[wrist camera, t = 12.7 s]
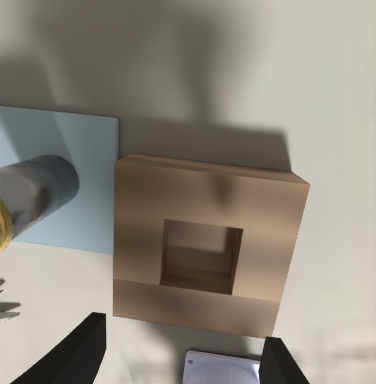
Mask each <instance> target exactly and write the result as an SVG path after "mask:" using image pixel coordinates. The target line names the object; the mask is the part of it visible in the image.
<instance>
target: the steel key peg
mask: <svg viewBox="0 0 376 384" xmlns="http://www.w3.org/2000/svg"><path fill="white" fill-rule="evenodd" d="M78 190H79V177H78V174H77V172H76V170H75V169H74V167H73V166H72V165H71V164H70V163H69V162H68V161H67V160H65V159H64V158H62V157H60V156H57V155H51V154H48V155H42V156H39V157H35V158H32V159H28V160H25V161H21V162H17V163H14V164H10V165H7V166H3V167H0V252H2V251H3V250H4V249H5V248H6V247H7V246H8V245H9V243H10V241H11V240H13V239H14V238H16V237H17V236H19V235H20V234H22V233H23V232H25V231H26V230H28V229H29V228H31V227H32V226H34V225H35V224H37V223H38V222H40V221H41V220H43V219H44V218H46V217H47V216H49V215H50V214H52V213H53V212H55V211H56V210H58V209H59V208H61V207H62V206H64V205H65V204H67V203H68V202H70V201H71V200H73V199H74V198H75V196H76V195H77V193H78Z"/></svg>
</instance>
